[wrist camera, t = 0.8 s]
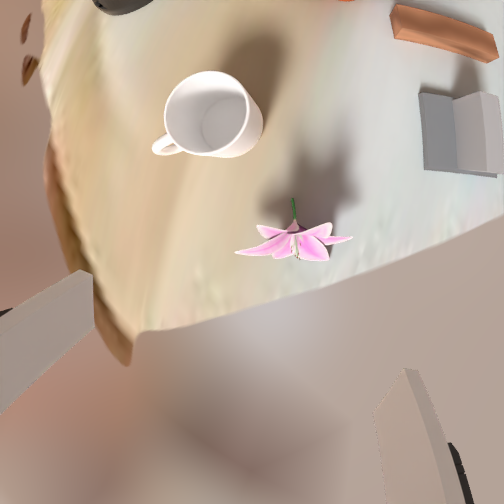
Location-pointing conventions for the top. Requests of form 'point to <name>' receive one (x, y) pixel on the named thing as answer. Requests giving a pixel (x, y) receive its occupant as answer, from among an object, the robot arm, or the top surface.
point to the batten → (442, 33)
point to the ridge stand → (462, 134)
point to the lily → (295, 241)
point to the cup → (210, 117)
